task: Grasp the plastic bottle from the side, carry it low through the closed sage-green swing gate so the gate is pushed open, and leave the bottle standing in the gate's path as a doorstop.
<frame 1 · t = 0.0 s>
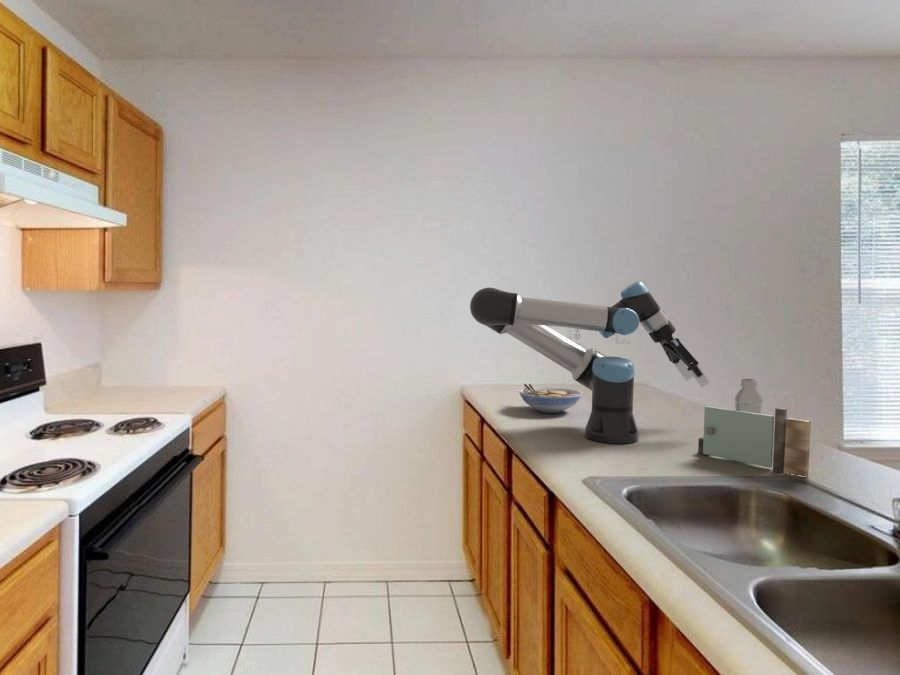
hand: (697, 381, 179), 15 cm above the countertop, tool tilted 35°, fingers open, 13 cm apart
ramen bowl: (549, 412, 208), on the countertop
brown wooden panel: (778, 471, 136), on the countertop
plastic bottle: (745, 455, 151), on the countertop
gate: (735, 436, 143), point 7 cm above the countertop, hinge at 0.0°
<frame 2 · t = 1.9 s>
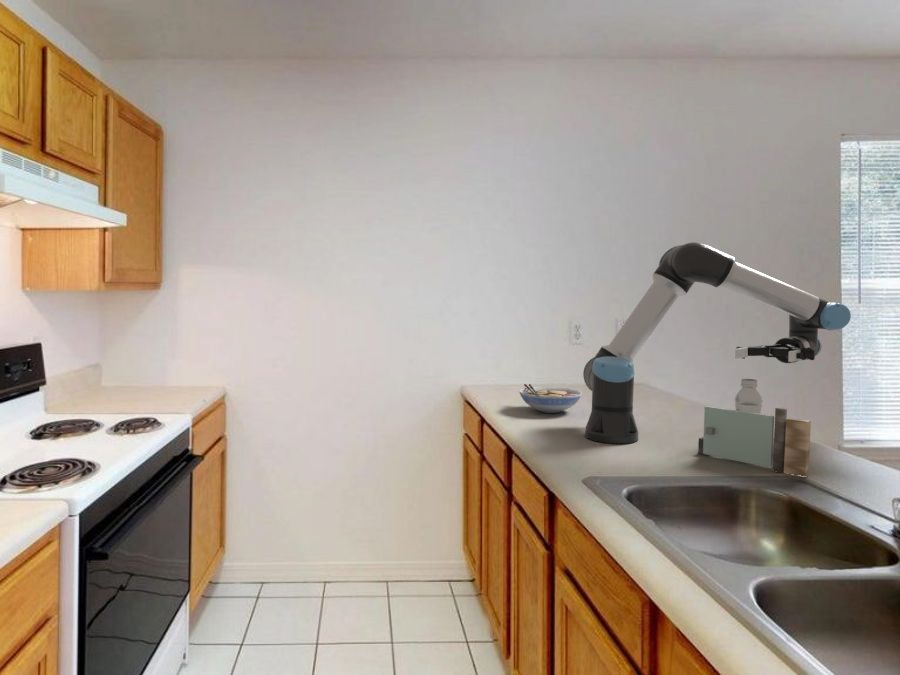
hand: (762, 355, 155), 26 cm above the countertop, tool horizontal, fingers open, 13 cm apart
nothing on the countertop moved.
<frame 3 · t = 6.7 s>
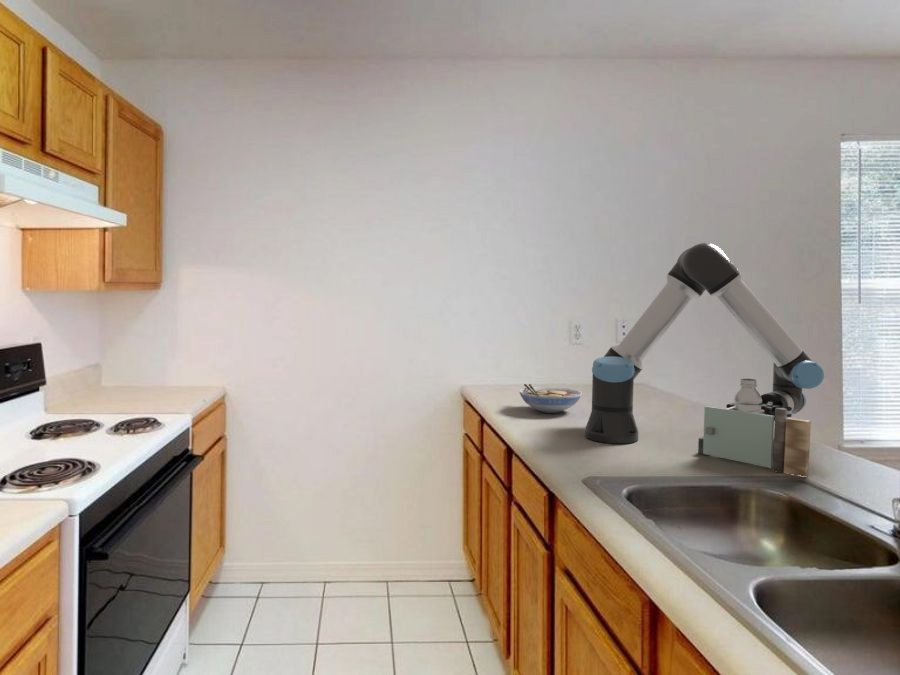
hand: (739, 416, 146), 11 cm above the countertop, tool horizontal, fingers closed on plastic bottle, 6 cm apart
plastic bottle: (746, 455, 151), on the countertop, touching gripper
everything else where it was.
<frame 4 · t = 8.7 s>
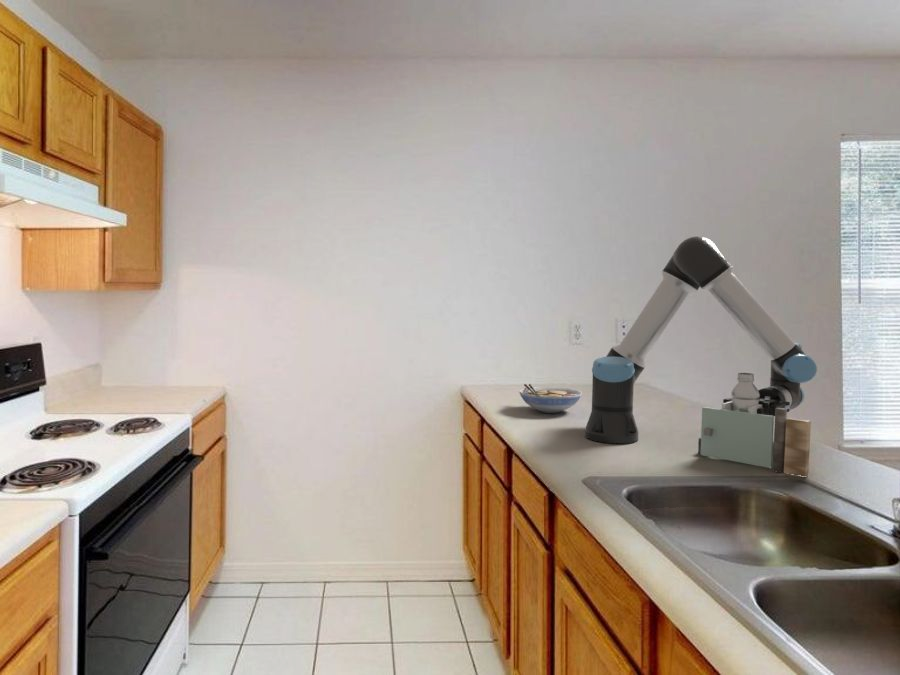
hand: (736, 410, 143), 13 cm above the countertop, tool horizontal, fingers closed on plastic bottle, 6 cm apart
plastic bottle: (743, 451, 147), point 2 cm above the countertop, touching gripper
gate: (734, 436, 142), point 7 cm above the countertop, hinge at 5.3°, touching gripper
everything else where it was.
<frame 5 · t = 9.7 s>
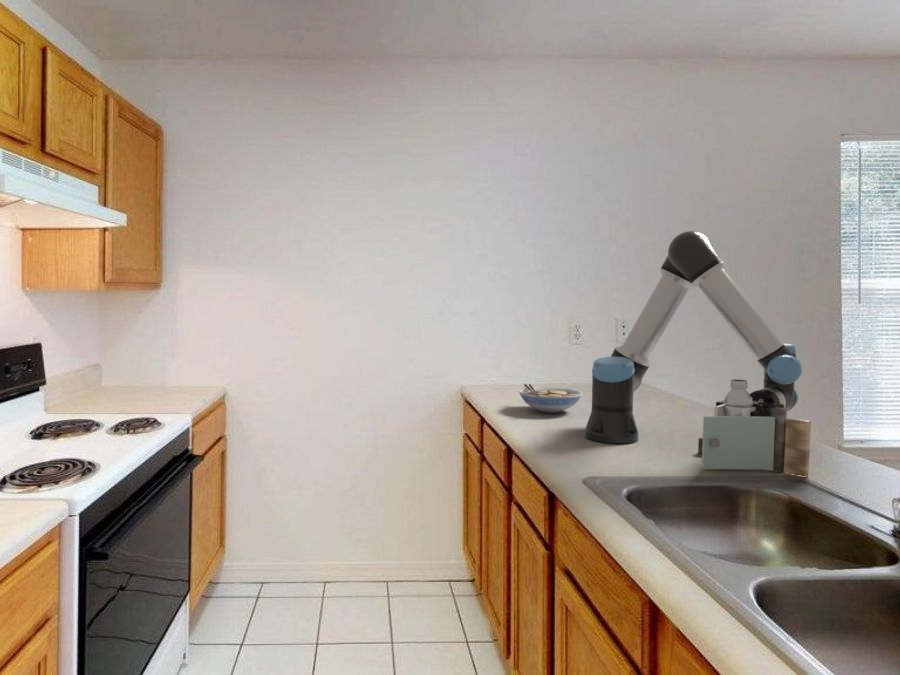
hand: (729, 414, 139), 13 cm above the countertop, tool horizontal, fingers closed on plastic bottle, 6 cm apart
plastic bottle: (735, 460, 143), point 1 cm above the countertop, touching gripper
gate: (739, 443, 135), point 7 cm above the countertop, hinge at 48.3°, touching gripper
everything else where it was.
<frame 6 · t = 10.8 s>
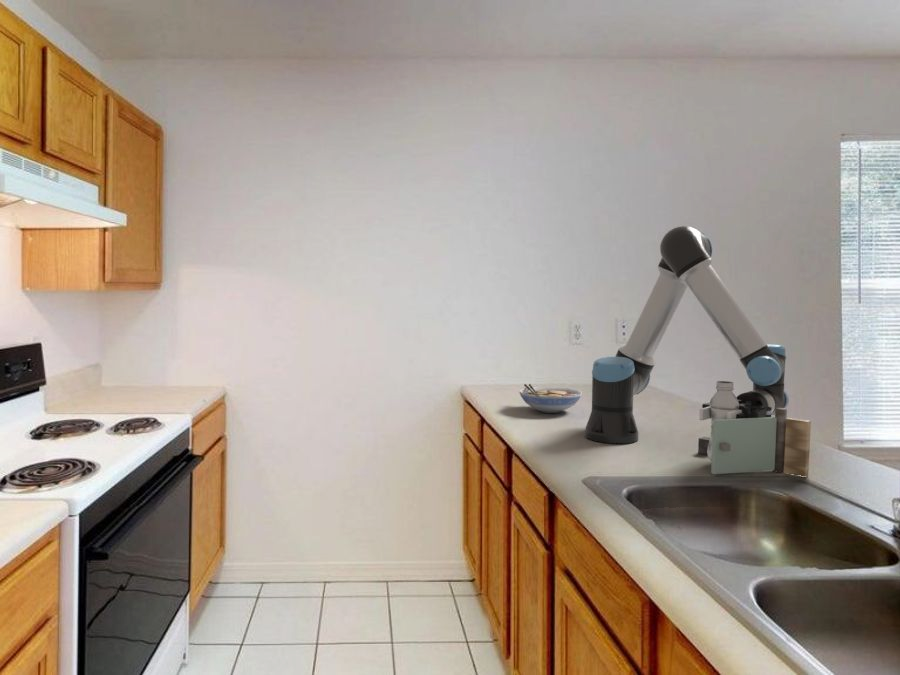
hand: (714, 416, 136), 13 cm above the countertop, tool horizontal, fingers closed on plastic bottle, 6 cm apart
plastic bottle: (721, 463, 140), point 1 cm above the countertop, touching gripper
gate: (746, 446, 133), point 7 cm above the countertop, hinge at 61.8°
everything else where it was.
when the fingers open (12 cm above the countertop, at t = 13.2 s): plastic bottle stays where it is, on the countertop.
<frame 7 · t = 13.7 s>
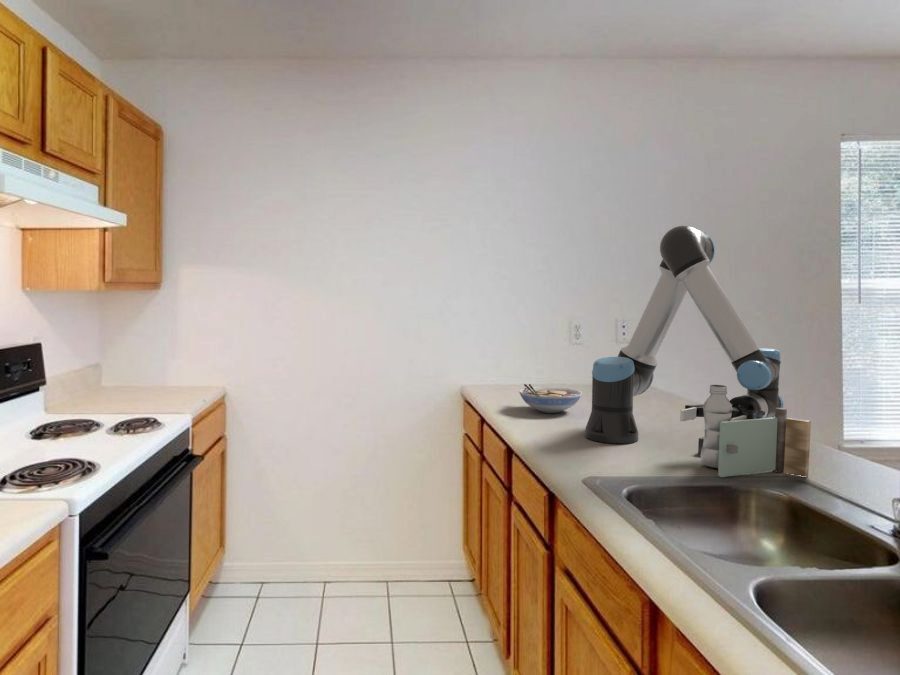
hand: (706, 420, 136), 12 cm above the countertop, tool horizontal, fingers open, 11 cm apart
plastic bottle: (715, 467, 139), on the countertop
gate: (751, 447, 132), point 7 cm above the countertop, hinge at 69.0°, touching gripper, hand
everything else where it was.
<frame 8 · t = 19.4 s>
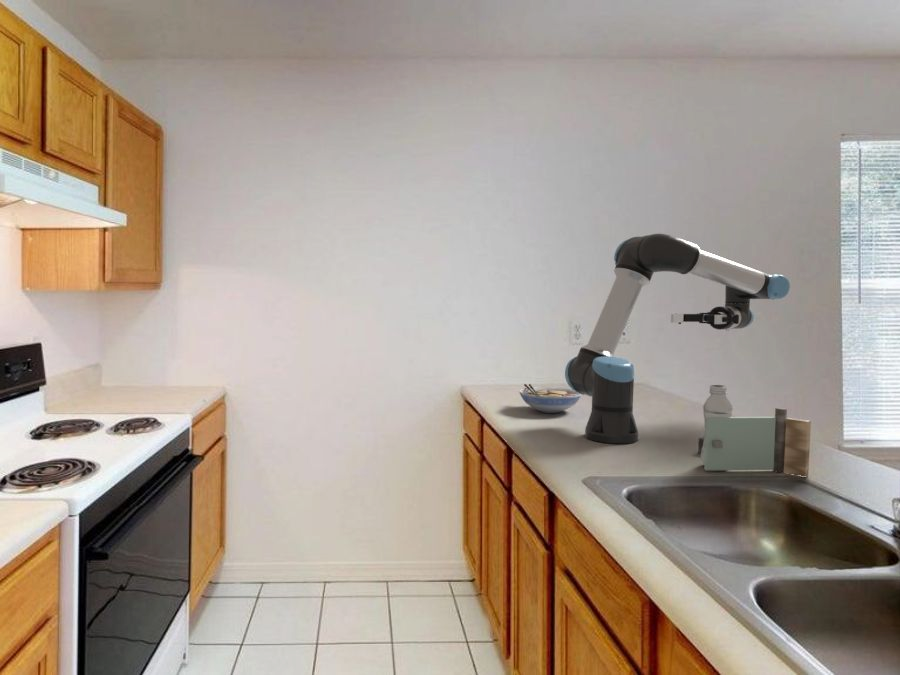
hand: (693, 318, 174), 35 cm above the countertop, tool horizontal, fingers open, 13 cm apart
gate: (741, 444, 135), point 7 cm above the countertop, hinge at 52.5°
everything else where it was.
at the end: gate at +52° (first picture: +0°); plastic bottle inside the target area (0.2 cm from its centre), on the countertop; plastic bottle tilted 0° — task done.
